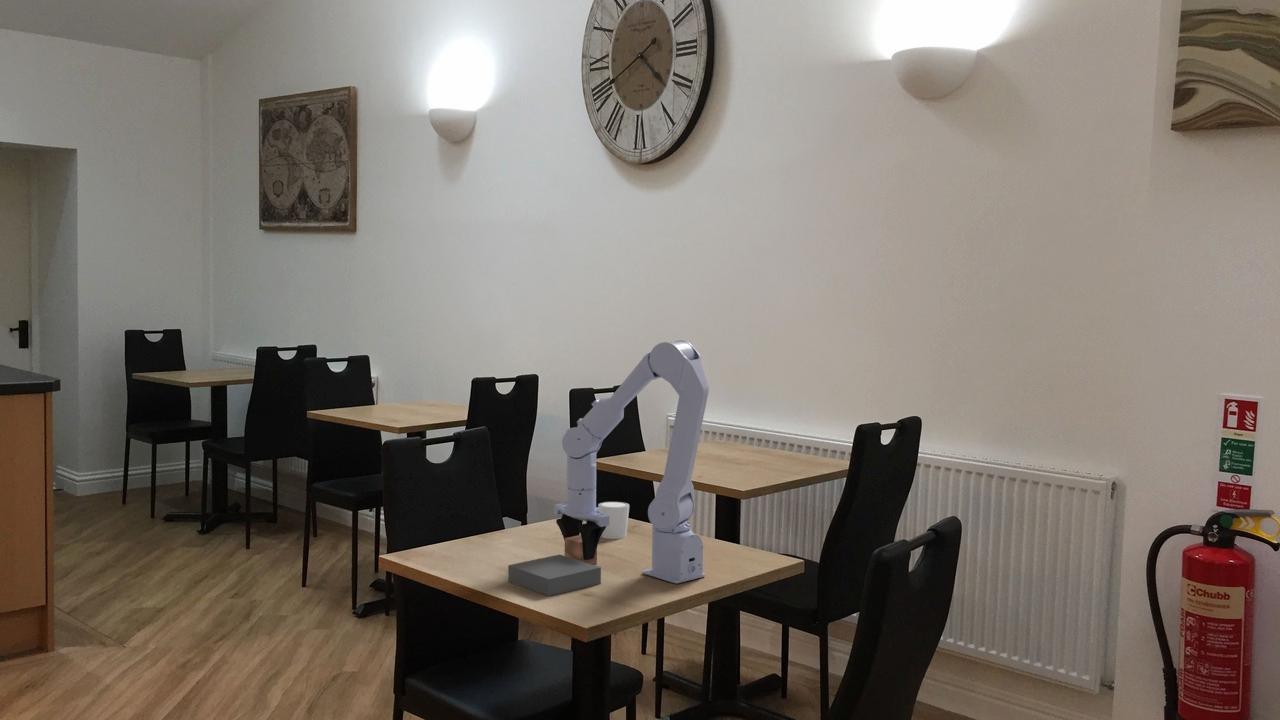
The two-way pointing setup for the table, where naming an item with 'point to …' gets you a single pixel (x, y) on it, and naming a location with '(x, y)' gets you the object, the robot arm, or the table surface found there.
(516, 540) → the table surface
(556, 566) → the charcoal plinth
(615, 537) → the white tapered cylinder
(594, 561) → the terracotta cube
